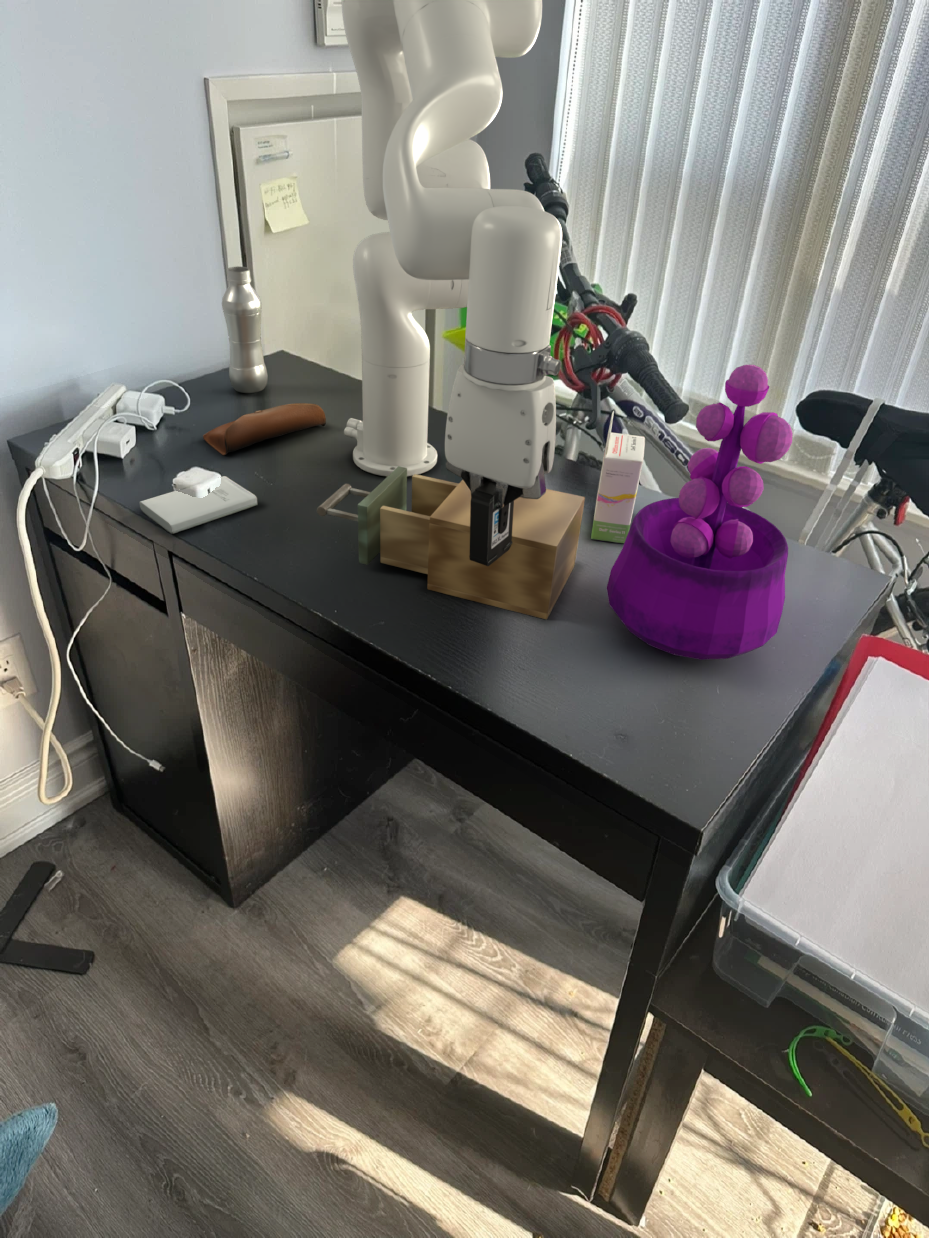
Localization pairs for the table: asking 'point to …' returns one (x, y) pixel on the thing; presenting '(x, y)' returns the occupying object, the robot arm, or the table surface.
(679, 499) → the decorative plant
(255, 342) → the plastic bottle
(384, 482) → the drawer
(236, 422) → the sunglasses case
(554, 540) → the cabinet
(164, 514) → the hard drive
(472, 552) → the ink cartridge
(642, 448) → the ink box
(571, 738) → the table surface
